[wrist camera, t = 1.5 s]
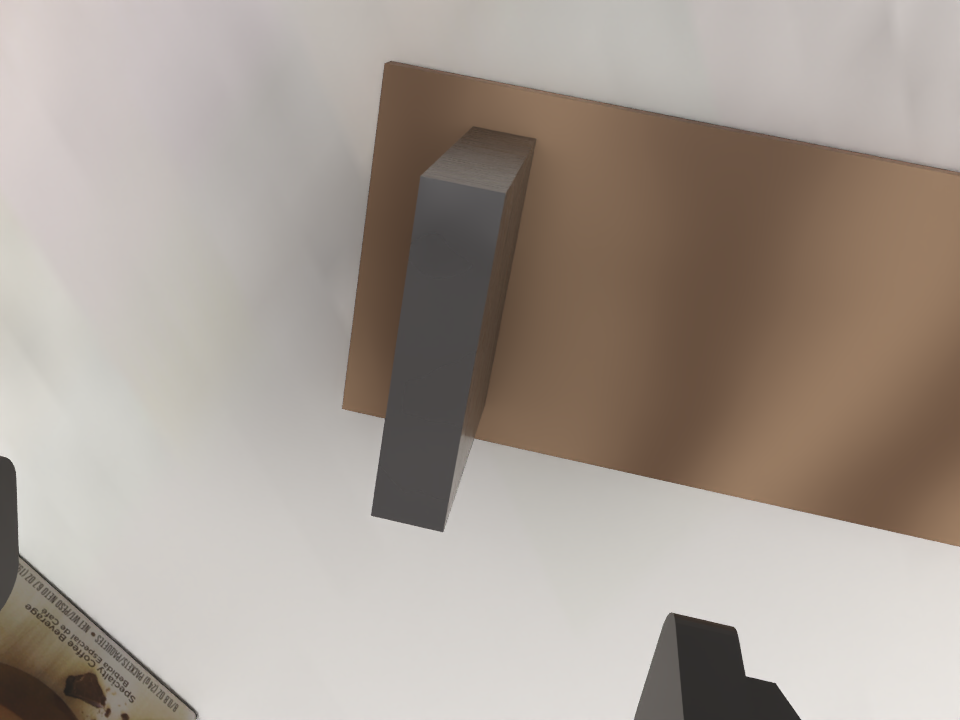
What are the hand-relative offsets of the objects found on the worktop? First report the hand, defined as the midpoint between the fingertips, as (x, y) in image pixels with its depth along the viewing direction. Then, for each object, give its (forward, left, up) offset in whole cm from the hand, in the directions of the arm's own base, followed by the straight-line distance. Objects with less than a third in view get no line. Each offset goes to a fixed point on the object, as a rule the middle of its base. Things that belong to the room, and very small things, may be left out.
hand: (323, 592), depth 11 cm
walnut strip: (0, +12, -13) cm, 18 cm away
